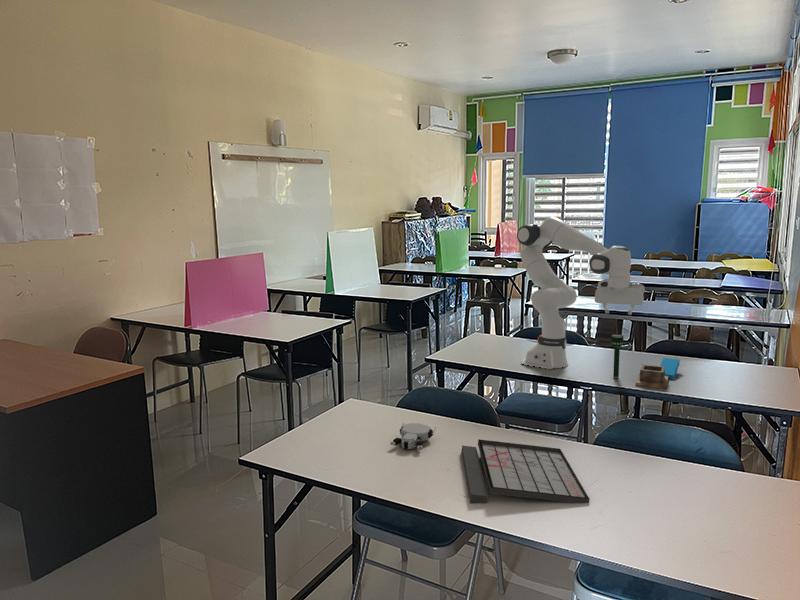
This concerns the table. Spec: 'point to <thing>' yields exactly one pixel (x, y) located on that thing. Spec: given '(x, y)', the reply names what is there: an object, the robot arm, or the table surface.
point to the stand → (652, 377)
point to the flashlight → (616, 352)
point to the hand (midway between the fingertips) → (618, 313)
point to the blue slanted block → (670, 367)
